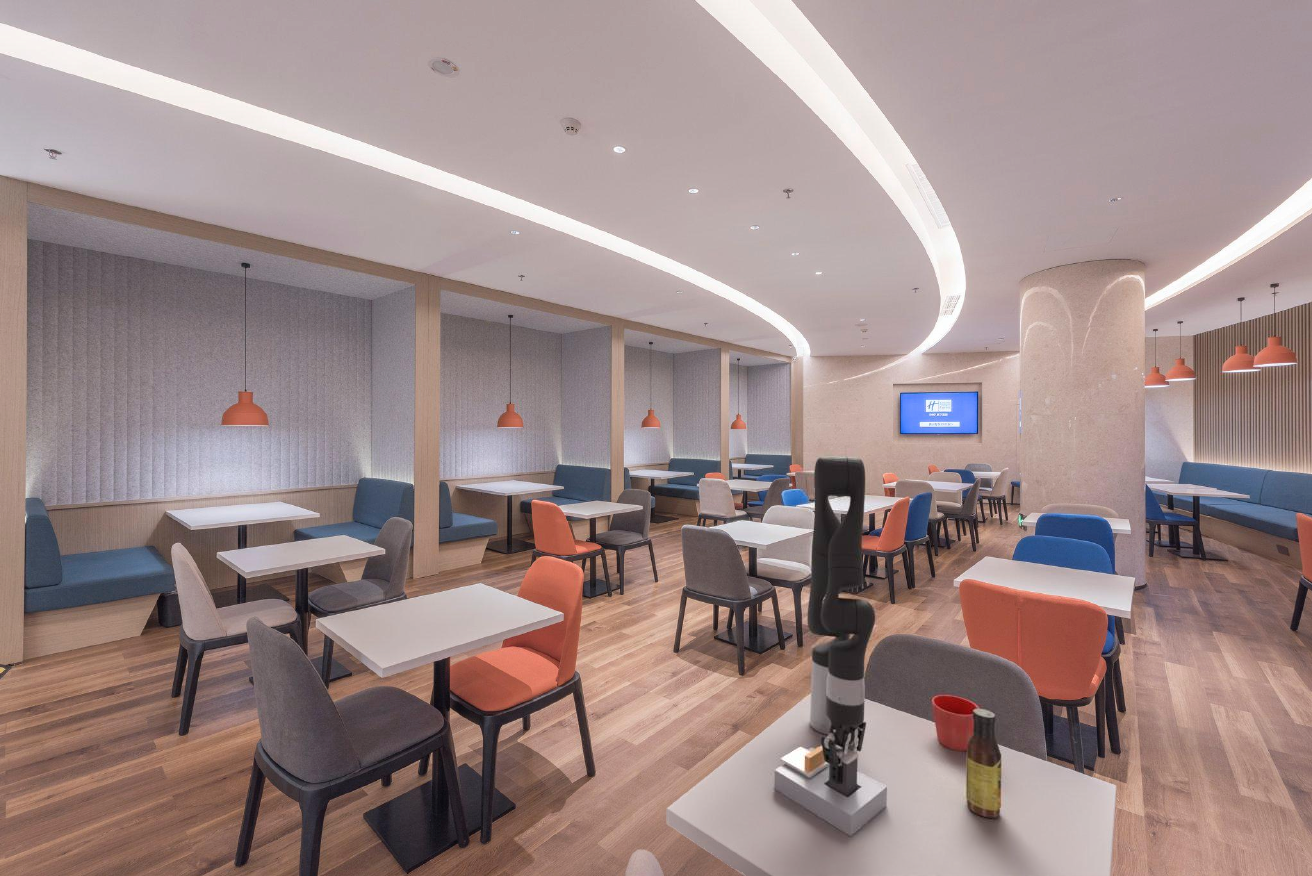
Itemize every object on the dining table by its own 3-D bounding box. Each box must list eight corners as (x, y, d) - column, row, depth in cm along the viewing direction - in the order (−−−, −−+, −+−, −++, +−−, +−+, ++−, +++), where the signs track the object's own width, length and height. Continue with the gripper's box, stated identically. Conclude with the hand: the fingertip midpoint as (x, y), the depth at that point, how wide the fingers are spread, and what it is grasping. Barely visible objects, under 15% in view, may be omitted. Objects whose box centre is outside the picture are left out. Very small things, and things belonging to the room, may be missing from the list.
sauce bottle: (1005, 822, 110) (1009, 723, 110) (971, 817, 111) (974, 719, 111) (992, 801, 116) (995, 708, 116) (960, 796, 117) (963, 704, 117)
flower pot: (920, 736, 141) (922, 698, 141) (949, 727, 146) (951, 691, 146) (959, 759, 131) (960, 718, 131) (988, 749, 136) (989, 710, 136)
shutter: (800, 749, 126) (801, 733, 126) (829, 764, 120) (830, 748, 120) (780, 761, 121) (781, 744, 121) (809, 777, 115) (810, 760, 115)
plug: (839, 782, 116) (840, 744, 116) (856, 792, 113) (858, 753, 113) (828, 789, 114) (829, 751, 114) (846, 800, 111) (847, 760, 111)
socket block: (811, 764, 127) (812, 747, 127) (886, 805, 114) (887, 786, 114) (774, 788, 118) (774, 770, 118) (850, 836, 105) (851, 815, 105)
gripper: (843, 712, 106) (840, 801, 106) (879, 692, 115) (877, 773, 115) (809, 698, 112) (807, 782, 112) (847, 679, 121) (844, 757, 121)
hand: (842, 777), depth 114 cm, fingers closed on plug, 4 cm apart
